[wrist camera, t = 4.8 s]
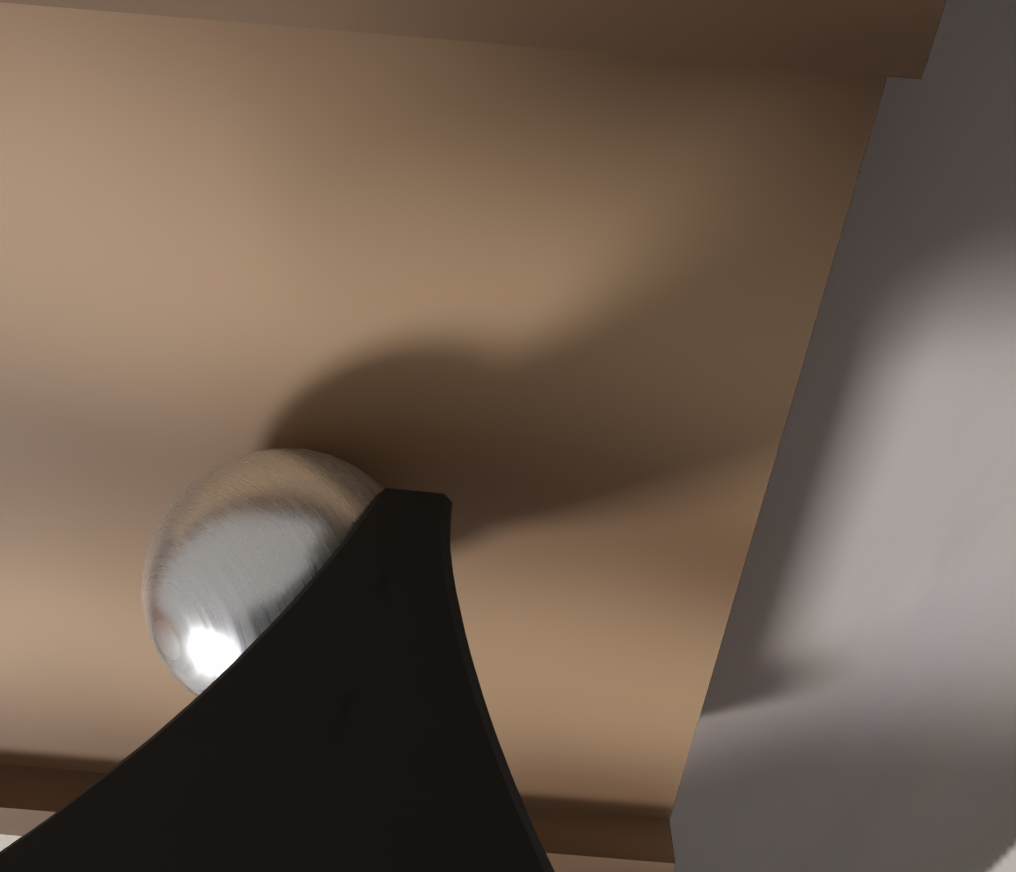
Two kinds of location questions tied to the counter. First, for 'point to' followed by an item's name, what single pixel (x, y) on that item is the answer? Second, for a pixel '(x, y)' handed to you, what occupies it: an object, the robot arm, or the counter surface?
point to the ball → (243, 553)
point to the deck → (421, 336)
